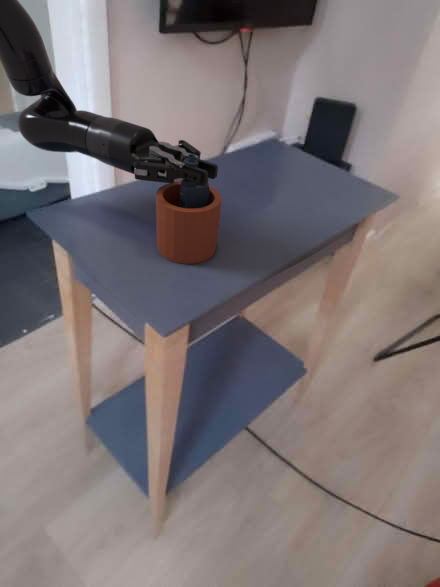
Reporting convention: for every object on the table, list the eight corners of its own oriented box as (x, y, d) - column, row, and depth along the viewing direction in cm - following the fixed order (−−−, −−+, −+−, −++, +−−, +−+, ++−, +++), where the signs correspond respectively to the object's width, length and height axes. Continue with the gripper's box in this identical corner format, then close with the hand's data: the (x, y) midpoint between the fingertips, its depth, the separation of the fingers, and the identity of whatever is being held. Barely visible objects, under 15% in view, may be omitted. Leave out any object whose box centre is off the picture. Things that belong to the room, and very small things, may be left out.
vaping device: (173, 222, 67) (180, 152, 60) (199, 217, 70) (208, 150, 63) (181, 229, 66) (189, 159, 58) (207, 224, 68) (217, 156, 61)
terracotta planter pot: (196, 271, 65) (199, 219, 59) (144, 249, 68) (142, 197, 62) (226, 243, 72) (232, 193, 66) (178, 224, 76) (179, 175, 69)
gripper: (89, 132, 58) (188, 166, 52) (146, 112, 67) (235, 138, 62) (94, 180, 63) (186, 215, 57) (147, 155, 72) (229, 183, 67)
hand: (211, 175), depth 60 cm, fingers closed on vaping device, 2 cm apart
